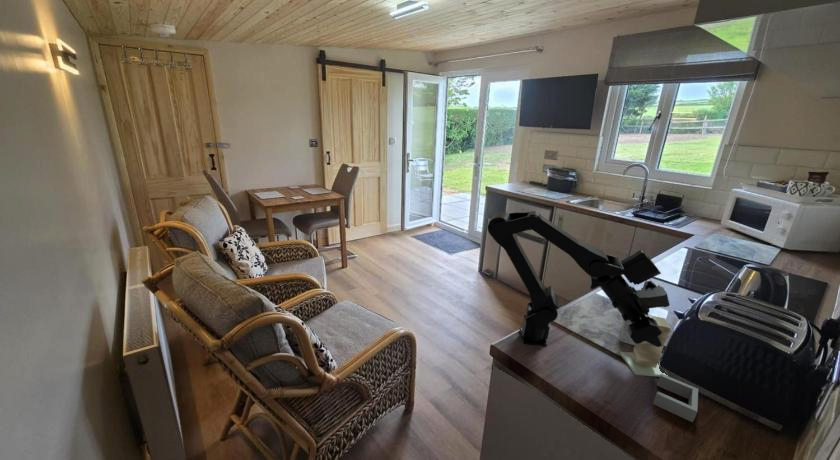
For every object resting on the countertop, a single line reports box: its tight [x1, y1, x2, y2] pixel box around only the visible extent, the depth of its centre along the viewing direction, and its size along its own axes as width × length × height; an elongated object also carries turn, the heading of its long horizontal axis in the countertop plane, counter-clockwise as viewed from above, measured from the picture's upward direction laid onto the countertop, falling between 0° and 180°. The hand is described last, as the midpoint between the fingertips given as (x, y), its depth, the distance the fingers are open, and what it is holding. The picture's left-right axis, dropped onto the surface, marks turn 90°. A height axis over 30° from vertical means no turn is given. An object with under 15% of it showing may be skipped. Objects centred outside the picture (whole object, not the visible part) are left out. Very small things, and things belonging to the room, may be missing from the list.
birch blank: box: [632, 314, 671, 368], centre depth 86 cm, size 4×4×12 cm
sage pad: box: [619, 351, 669, 377], centre depth 89 cm, size 8×8×1 cm
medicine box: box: [619, 318, 635, 347], centre depth 99 cm, size 8×4×9 cm, turn 148°
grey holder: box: [653, 374, 699, 423], centre depth 77 cm, size 7×8×3 cm
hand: (657, 340), depth 86 cm, fingers closed on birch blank, 4 cm apart
